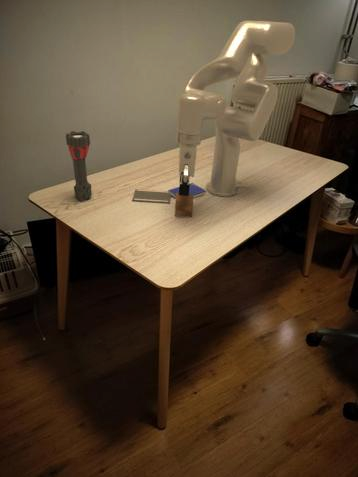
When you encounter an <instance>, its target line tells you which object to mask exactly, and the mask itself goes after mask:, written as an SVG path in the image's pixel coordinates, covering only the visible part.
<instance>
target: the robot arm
mask: <svg viewBox="0 0 358 477" xmlns="http://www.w3.org/2000/svg"><path fill="white" fill-rule="evenodd" d="M295 40H296V29H295V26H294V25H293V24H292V23H290V22H280V21H270V20H269V21H267V20H243V21H241V22H239V23H238V24H237V26H236V27H235V28H234V29H233V31H232V32H231V35H230V36H229V37H228V39H227V42H226V43H225V45H224V46H223V48H222V50H221V51H220V53H219V55H218V57H217V58H215V59H214V60H212V61H210V62H209V63H207V64H205V65H204V66H203V67H201V68H199V69H198V71H197V70H196V72H195V73H194V74H193V75H192V76H191V77H190V79H189V80H188V83H187V84H186V86H185V88H184V89H183V92H182V94H181V95H180V96H179V101H178V111H177V112H178V113H177V114H178V115H177V124H176V125H177V126H176V137H175V142H176V144H178V145H179V150H178V152H179V153H178V175H179V186H178V187H179V195H182V196H188V195H189V187H190V180H191V179H190V178H191V177H192V178H194V177H195V171H196V170H195V169H196V161H197V160H196V159H197V148H198V146H200V145H201V141H202V133H203V124H204V120H205V121H206V120H209V121H211V120H212V121H213V120H215V121H214V128H215V142H214V143H215V144H214V152H213V160H212V168H211V177H210V181H209V182H207V183H206V185H205V190H206V192H208V193H209V194H212V195H214V196H218V197H231V196H234V195H236V194H237V192H238V189H240V188H241V189H247V183H246V182H245V183H244V182H243V180H242V181H241V180H239V181H238V180H237V179H236V178H237V171H238V166H239V160H240V154H241V143H240V139H241V140H244V141H248V142H255V141H257V140H258V139H259V138H261V135H262V134H263V132H264V129H265V128H266V126H267V124H268V122H269V119H270V117H271V114H272V113H273V110H274V108H275V106H276V104H277V100H278V97H279V96H278V93H279V91H278V87H277V85H275V83H272V82H270V81H264V80H265V78H266V76H267V74H268V69H269V68H268V63H267V59H266V58H265V55H266V56H268V55H269V56H274V55H275V56H276V55H283V54H285V53H287V52H289V50H290V49H291V48H292V46H293V45H294V43H295ZM237 77H238V78H237ZM235 78H237V81H236V82H235V85H234V87H233V89H232V92H231V95H230V96H231V97H230V101H231V102H232V104H234V105H235V106H237V107H235V106H227V104H226V103H227V102H226V100H225V97H224V96H222V94H219V93H216V92H211V91H207V90H206V89H207V88H208V87H210V86H212V85H215V84H218V83H223V82H226V81H229V80H232V79H235Z"/></svg>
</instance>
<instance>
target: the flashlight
mask: <svg viewBox="0 0 358 477" xmlns="http://www.w3.org/2000/svg"><path fill="white" fill-rule="evenodd" d="M65 138H66V139H65V140H66V146H67V148H68V151H69V153H70V157H71V159H72V162H73V163H72V165H73V174H74V181H75V185H74V186H73V190H74V196H75V199H78V200H79V202H85V201H86V200H90V199H91V198H92V184H91V183H90V182H89V181H88V174H87V164H86V158H87V155H88V152H89V149H90V145H91V138H90V134H89V133H88V132H86V131H83V130H81V131H78V132H77V131H76V130H75V131H70V133H68V132H66V134H65Z"/></svg>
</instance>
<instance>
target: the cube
mask: <svg viewBox="0 0 358 477" xmlns="http://www.w3.org/2000/svg"><path fill="white" fill-rule="evenodd" d="M174 206H175V207H174V209H175V210H174V217H183V218H184V217H185V218H192V217H193V210H194V198H193V194H189V195H188V196H182V195H179V193H176V198H175V205H174Z"/></svg>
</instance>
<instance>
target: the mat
mask: <svg viewBox="0 0 358 477" xmlns="http://www.w3.org/2000/svg"><path fill="white" fill-rule="evenodd" d="M171 199H172V195H170V194H168V190H167V191H165V190H153V189H152V190H150V189H140V188H139V189H135V190H134V192H133V196H132V199H131V201H132V202H139V203H155V204H169V205H170V204H171V201H172V200H171Z"/></svg>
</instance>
